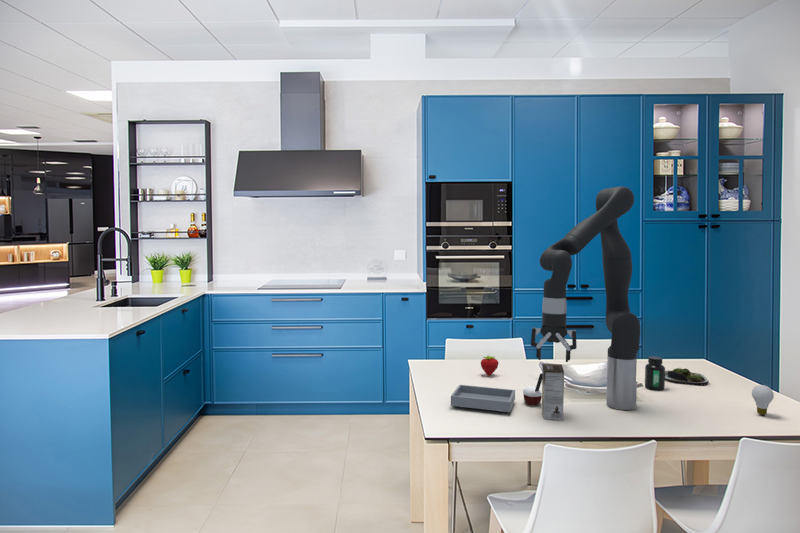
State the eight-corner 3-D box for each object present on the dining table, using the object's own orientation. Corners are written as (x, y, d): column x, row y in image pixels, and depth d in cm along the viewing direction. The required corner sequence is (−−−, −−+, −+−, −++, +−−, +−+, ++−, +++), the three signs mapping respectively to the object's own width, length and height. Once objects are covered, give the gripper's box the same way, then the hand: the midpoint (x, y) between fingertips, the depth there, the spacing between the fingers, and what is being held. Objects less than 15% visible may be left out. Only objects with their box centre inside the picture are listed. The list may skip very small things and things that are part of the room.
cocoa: (520, 401, 183) (519, 368, 182) (537, 400, 183) (536, 367, 183) (528, 409, 173) (527, 374, 173) (546, 408, 174) (545, 373, 173)
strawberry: (500, 377, 211) (500, 354, 211) (482, 378, 211) (482, 354, 210) (496, 373, 217) (496, 350, 217) (479, 374, 217) (479, 351, 216)
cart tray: (515, 402, 180) (515, 389, 180) (510, 415, 167) (510, 402, 167) (459, 396, 187) (459, 384, 187) (450, 409, 174) (450, 396, 173)
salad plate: (656, 371, 223) (656, 360, 223) (703, 375, 216) (703, 364, 216) (659, 382, 205) (659, 371, 205) (710, 388, 198) (711, 376, 198)
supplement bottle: (659, 392, 192) (660, 361, 191) (641, 388, 197) (642, 357, 196) (667, 388, 196) (668, 358, 195) (649, 384, 201) (650, 354, 201)
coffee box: (541, 409, 173) (541, 363, 172) (560, 411, 171) (561, 364, 170) (543, 419, 164) (544, 370, 163) (564, 421, 162) (564, 371, 161)
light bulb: (751, 411, 171) (752, 381, 171) (773, 414, 168) (774, 385, 167) (749, 415, 167) (751, 385, 166) (772, 419, 163) (773, 389, 163)
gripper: (577, 310, 167) (576, 359, 168) (532, 308, 171) (531, 356, 172) (577, 314, 160) (576, 365, 161) (530, 311, 164) (529, 361, 165)
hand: (553, 360), depth 167 cm, fingers open, 8 cm apart
